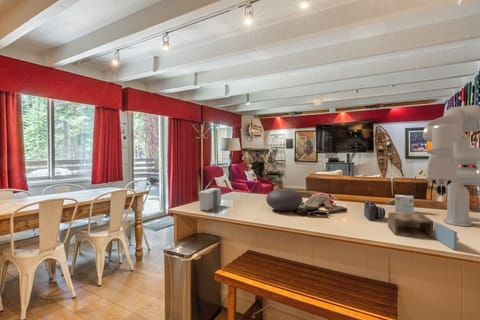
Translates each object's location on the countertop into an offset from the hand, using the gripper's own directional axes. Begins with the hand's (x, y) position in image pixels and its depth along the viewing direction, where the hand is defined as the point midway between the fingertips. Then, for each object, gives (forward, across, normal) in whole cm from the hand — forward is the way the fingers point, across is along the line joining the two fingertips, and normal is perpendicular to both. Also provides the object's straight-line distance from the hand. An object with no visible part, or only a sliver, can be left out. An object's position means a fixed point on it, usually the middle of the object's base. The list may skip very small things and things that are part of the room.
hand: (441, 195), depth 115 cm
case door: (+22, +2, +2) cm, 22 cm away
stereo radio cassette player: (+22, -134, -6) cm, 136 cm away
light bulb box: (+23, -20, +63) cm, 69 cm away
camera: (+22, -32, +32) cm, 51 cm away
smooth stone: (+22, -87, +19) cm, 91 cm away
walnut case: (+22, -13, +13) cm, 29 cm away
